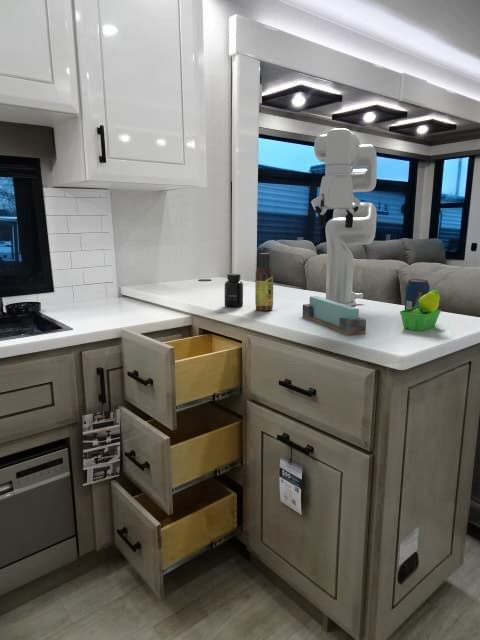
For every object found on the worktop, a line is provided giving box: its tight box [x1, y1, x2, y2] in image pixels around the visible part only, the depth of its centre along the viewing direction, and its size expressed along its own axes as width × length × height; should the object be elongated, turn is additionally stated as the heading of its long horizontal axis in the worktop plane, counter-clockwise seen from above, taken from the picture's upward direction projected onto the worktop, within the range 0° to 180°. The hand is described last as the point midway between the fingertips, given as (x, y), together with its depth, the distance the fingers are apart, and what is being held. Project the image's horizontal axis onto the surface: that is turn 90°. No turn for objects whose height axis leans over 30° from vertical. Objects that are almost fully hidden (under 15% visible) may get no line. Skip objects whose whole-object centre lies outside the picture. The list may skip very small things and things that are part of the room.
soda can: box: [404, 278, 431, 310], centre depth 142 cm, size 7×7×12 cm
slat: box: [309, 295, 360, 326], centre depth 134 cm, size 24×2×6 cm, turn 19°
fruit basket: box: [399, 289, 442, 332], centre depth 128 cm, size 11×9×11 cm
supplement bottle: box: [224, 273, 244, 309], centre depth 164 cm, size 7×7×12 cm
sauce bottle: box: [254, 252, 274, 312], centre depth 156 cm, size 7×6×20 cm
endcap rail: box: [302, 303, 367, 336], centre depth 134 cm, size 6×27×4 cm, turn 19°
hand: (335, 227), depth 143 cm, fingers open, 9 cm apart
